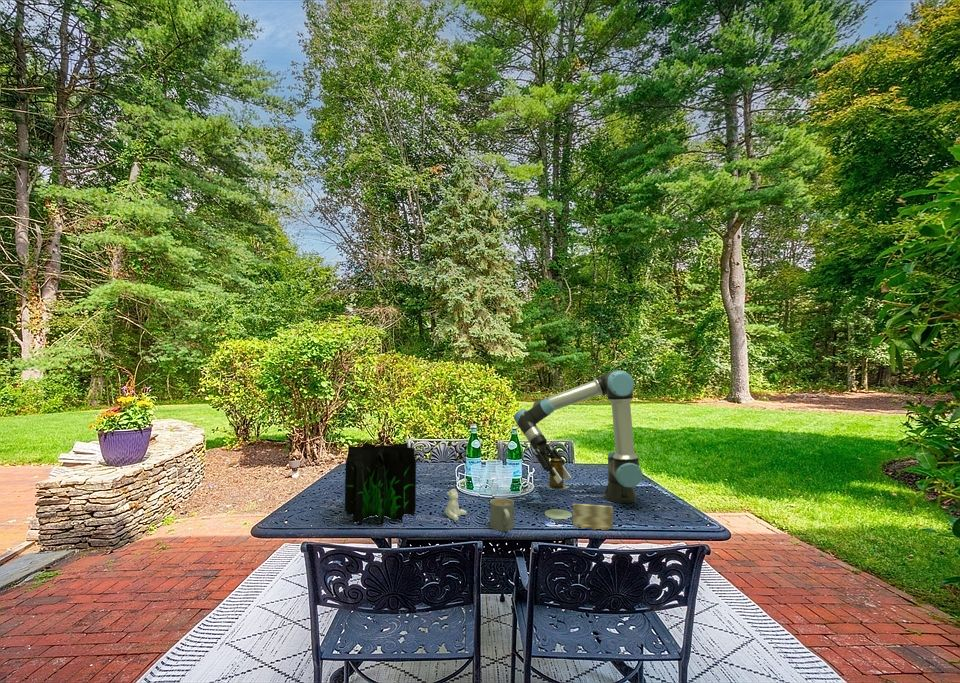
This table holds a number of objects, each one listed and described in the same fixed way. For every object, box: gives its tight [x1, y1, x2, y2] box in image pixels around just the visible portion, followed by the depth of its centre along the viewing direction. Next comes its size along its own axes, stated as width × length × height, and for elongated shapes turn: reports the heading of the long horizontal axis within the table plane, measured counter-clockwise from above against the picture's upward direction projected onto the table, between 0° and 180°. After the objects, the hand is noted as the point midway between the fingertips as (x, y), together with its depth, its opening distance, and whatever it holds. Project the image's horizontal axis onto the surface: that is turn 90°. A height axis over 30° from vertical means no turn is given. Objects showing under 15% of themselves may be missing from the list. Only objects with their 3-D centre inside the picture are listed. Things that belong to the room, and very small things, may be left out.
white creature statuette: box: [444, 488, 467, 522], centre depth 193 cm, size 10×9×12 cm
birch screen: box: [572, 503, 614, 531], centre depth 181 cm, size 16×4×9 cm, turn 78°
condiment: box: [546, 459, 570, 491], centre depth 196 cm, size 7×8×12 cm
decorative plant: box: [344, 441, 417, 525], centre depth 196 cm, size 29×30×30 cm
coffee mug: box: [489, 497, 515, 532], centre depth 180 cm, size 13×10×10 cm
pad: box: [544, 508, 573, 520], centre depth 195 cm, size 12×12×1 cm
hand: (564, 480), depth 193 cm, fingers closed on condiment, 6 cm apart
